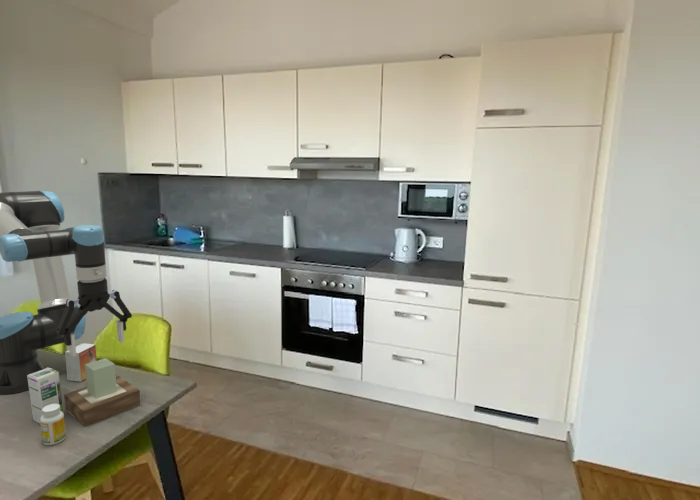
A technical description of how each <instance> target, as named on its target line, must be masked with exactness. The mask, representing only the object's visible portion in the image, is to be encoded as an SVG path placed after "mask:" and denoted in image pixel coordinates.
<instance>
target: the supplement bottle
mask: <svg viewBox="0 0 700 500" xmlns="http://www.w3.org/2000/svg"><path fill="white" fill-rule="evenodd" d="M63 413H64V411H63V412H62V411H60V405H59V404H50V405H47V406H45V407H44V408H43V409H42V414H43V415H42V417H41V418H40V424H39V425H40V431H41V441H42V442H41V443H42V444H43V445H45V446H53V445H57V444H59V443H61V442H62V441H64V440H65V439H66V436H67V435H66V433H67V432H66V425H65V423H66V422H65V415H64V414H65V413H64V414H63Z"/></svg>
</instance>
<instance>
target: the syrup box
mask: <svg viewBox="0 0 700 500" xmlns="http://www.w3.org/2000/svg"><path fill="white" fill-rule="evenodd" d="M27 378H28V385H29V390H28V392H29V398H30V406H31V411H32V412H31V413H32V419H33V421H34V422H35V423H37V424H39V425H40V418H41V417H42V415H43V414H42V409H43V408H44V407H45V406H47V405H50V404H59V405H60V411H62V412H63V414H65V413H64V407H63V398H62V389H61V383H60V382H61V380H60V372H59V371H58V370H56V369H54V368H51V367H46V368H44V369H43V370H40V371H38V372H35V373H32V374H29V375H27Z"/></svg>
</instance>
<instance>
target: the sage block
mask: <svg viewBox="0 0 700 500" xmlns="http://www.w3.org/2000/svg"><path fill="white" fill-rule="evenodd" d="M115 364H116V363H114V362H112V361H111V360H109V359H108V358H107V357H105V358H101V359H97V361H95V362H91V363H88V364H85V370H86V379H85V380H86V387H87V391H88V393H89V394H91V395H92V396H93V397H94V398H96V399H97V398H100V397H103V396H105V395H108V394H111V393H114V392H116V391H117V387H116V377H117V375H116V365H115Z"/></svg>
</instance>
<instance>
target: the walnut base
mask: <svg viewBox="0 0 700 500" xmlns="http://www.w3.org/2000/svg"><path fill="white" fill-rule="evenodd" d="M116 387H117V391H116V392H114V393H111V394H108V395H105V396H103V397H100V398H97V399H96V398H94V397H93V396H92V395H91V394H89V393H88V391H87V386H84V387H81V388H78V389H76V390H72V391H70V392H67V393H64V403H65V410H66V411H67V412H68V413H69V414H70V415H71V416H72V417H74V419H75V420H77V422H79V423H80V424H81V425H82V426H83V427H84V428H86V427H89V426H91V425H94V424H96V423H98V422H101V421H103V420H107V419H109V418H111V417H114V416H116V415H118V414H122V413H124V412H126V411H128V410H131V409H134V408H136V407H138V406H141V394H140V393H141V391H140V389H139V388H137V387H136V386H134V385H133V384H131V383H130V382H128V381H127V380H125V379H124V378H123V377H121V376H120V375H116Z"/></svg>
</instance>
